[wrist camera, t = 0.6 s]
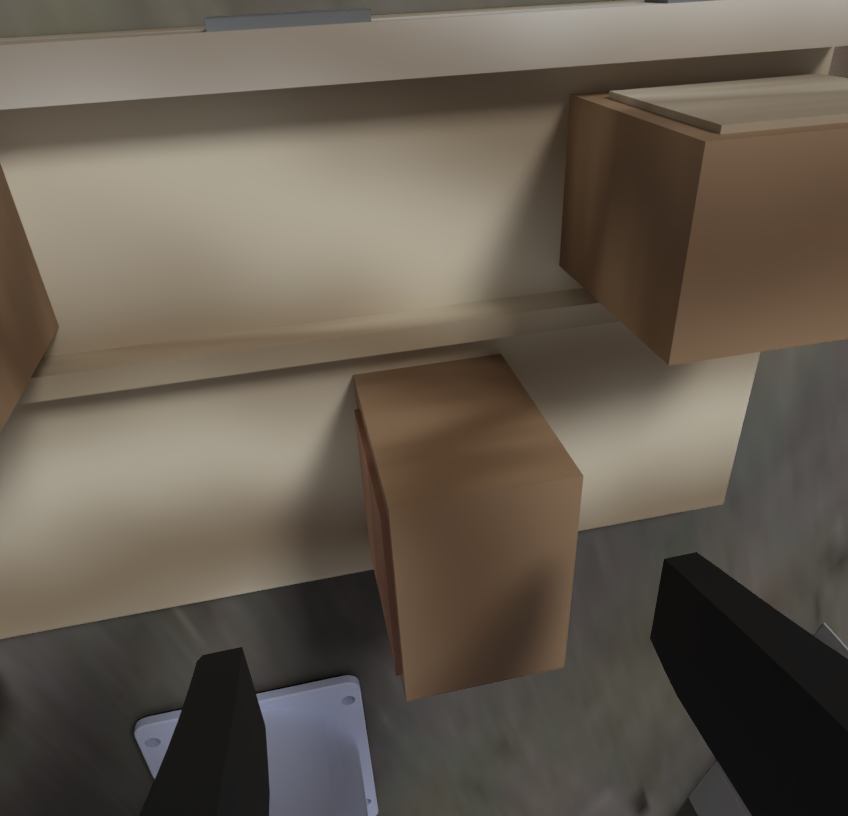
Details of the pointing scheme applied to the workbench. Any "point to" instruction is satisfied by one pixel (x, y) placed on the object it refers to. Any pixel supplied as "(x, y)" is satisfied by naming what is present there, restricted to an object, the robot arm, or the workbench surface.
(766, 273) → the faced block
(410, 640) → the turned block
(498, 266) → the long shallow wooden tray
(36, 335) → the faced block
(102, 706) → the workbench surface
